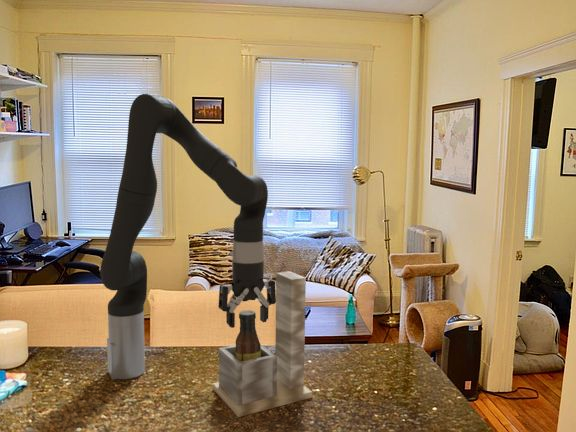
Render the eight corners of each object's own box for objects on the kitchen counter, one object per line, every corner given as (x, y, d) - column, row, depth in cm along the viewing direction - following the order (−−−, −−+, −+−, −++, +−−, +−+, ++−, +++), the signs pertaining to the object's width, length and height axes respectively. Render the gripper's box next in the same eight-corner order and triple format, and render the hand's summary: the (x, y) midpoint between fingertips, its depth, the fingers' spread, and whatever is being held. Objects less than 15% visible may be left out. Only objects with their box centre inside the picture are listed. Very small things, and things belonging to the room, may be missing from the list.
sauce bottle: (265, 387, 126) (267, 311, 124) (253, 398, 121) (255, 318, 118) (242, 382, 129) (243, 307, 127) (230, 392, 123) (231, 314, 121)
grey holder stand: (238, 417, 115) (238, 291, 111) (212, 388, 129) (212, 276, 125) (312, 397, 125) (314, 281, 121) (281, 373, 138) (282, 268, 135)
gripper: (267, 253, 127) (266, 315, 129) (214, 258, 120) (214, 323, 122) (281, 259, 121) (280, 324, 123) (226, 264, 114) (226, 333, 116)
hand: (247, 324), depth 122 cm, fingers open, 8 cm apart
